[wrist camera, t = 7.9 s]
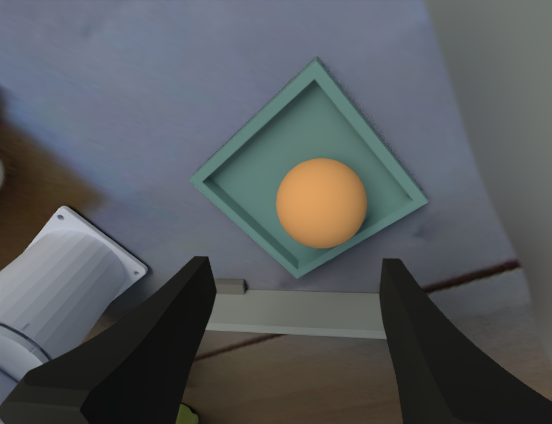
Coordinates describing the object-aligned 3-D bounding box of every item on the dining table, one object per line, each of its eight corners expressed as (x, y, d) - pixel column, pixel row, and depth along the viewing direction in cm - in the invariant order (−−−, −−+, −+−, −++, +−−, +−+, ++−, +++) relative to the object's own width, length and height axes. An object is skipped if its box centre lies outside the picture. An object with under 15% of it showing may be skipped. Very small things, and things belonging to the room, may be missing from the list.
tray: (298, 264, 25) (296, 278, 24) (196, 170, 22) (188, 180, 20) (422, 189, 20) (428, 202, 19) (316, 56, 17) (316, 60, 16)
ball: (301, 232, 22) (333, 281, 18) (249, 190, 20) (271, 236, 15) (355, 179, 21) (402, 217, 17) (309, 128, 19) (350, 158, 15)
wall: (418, 284, 24) (430, 322, 21) (413, 311, 26) (424, 350, 23) (212, 278, 27) (198, 312, 24) (218, 304, 28) (206, 338, 26)
